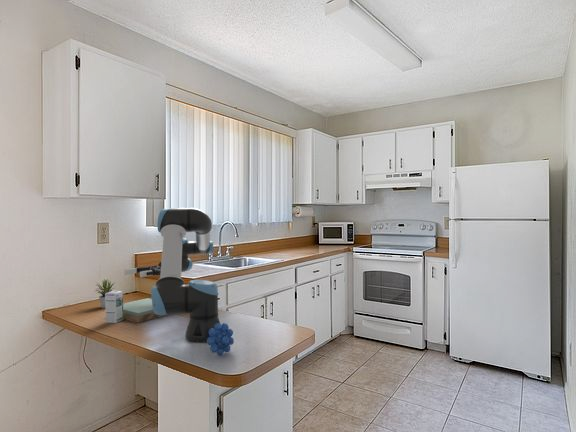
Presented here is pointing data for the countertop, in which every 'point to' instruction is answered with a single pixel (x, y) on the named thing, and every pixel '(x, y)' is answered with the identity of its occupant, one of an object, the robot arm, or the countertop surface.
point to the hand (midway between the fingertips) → (132, 273)
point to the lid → (138, 307)
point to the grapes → (220, 338)
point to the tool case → (140, 317)
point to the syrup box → (114, 306)
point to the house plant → (106, 290)
